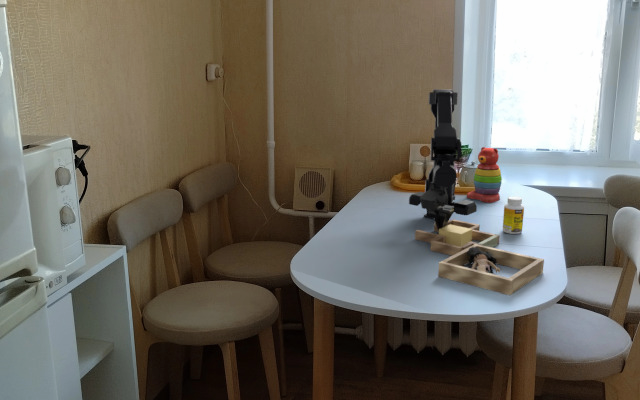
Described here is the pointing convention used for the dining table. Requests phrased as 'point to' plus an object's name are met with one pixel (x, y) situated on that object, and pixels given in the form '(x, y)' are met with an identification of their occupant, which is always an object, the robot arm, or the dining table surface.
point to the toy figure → (482, 260)
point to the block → (456, 235)
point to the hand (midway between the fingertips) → (440, 232)
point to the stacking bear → (487, 177)
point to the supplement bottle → (513, 215)
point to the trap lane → (442, 247)
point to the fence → (457, 272)
